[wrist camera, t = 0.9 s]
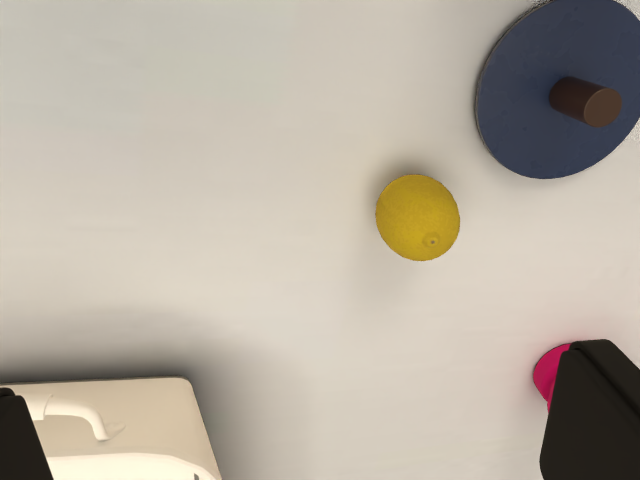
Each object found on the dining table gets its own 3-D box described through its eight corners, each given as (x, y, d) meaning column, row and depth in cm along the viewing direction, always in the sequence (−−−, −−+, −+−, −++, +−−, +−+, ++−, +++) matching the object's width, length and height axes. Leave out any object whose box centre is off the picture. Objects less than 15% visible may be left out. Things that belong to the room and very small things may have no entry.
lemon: (452, 177, 39) (493, 221, 32) (415, 238, 41) (446, 292, 34) (389, 148, 37) (417, 187, 30) (354, 212, 39) (373, 263, 32)
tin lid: (480, 0, 33) (517, 3, 28) (662, -11, 34) (730, -10, 29) (465, 180, 39) (494, 209, 34) (622, 168, 40) (673, 194, 35)
